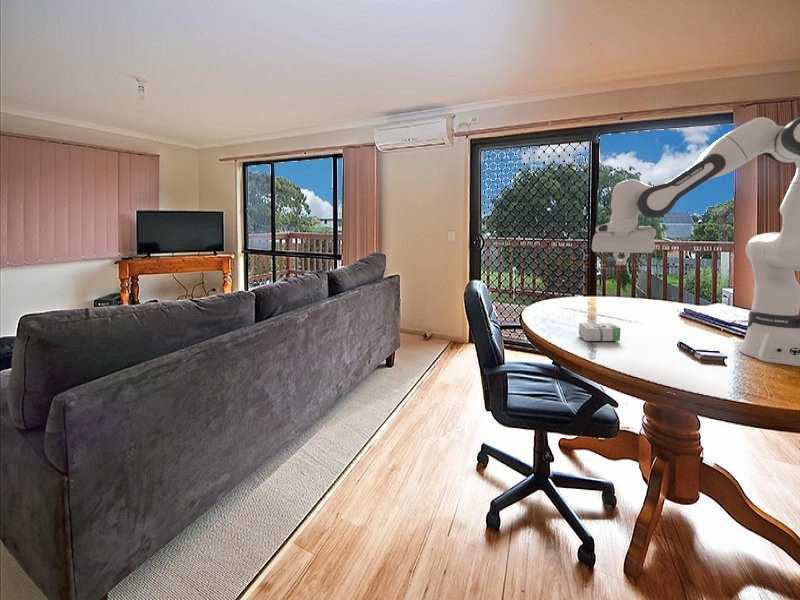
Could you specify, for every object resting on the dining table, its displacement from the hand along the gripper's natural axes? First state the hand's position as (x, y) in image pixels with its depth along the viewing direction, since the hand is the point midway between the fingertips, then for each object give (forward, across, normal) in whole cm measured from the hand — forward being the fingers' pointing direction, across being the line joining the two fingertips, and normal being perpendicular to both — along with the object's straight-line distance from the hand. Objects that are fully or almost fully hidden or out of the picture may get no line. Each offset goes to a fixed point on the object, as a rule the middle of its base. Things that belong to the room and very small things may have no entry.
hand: (620, 264), depth 151 cm
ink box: (+24, -1, +5) cm, 25 cm away
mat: (+27, +5, +4) cm, 28 cm away
